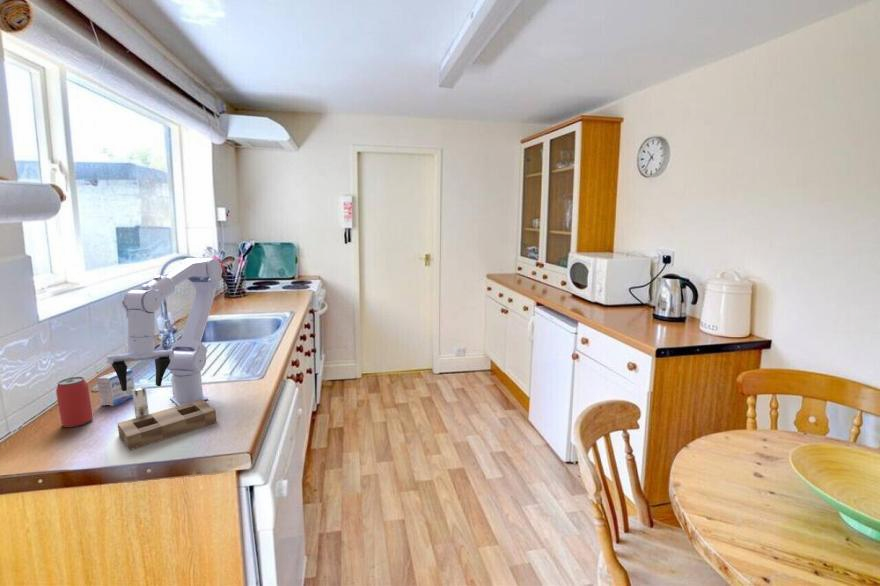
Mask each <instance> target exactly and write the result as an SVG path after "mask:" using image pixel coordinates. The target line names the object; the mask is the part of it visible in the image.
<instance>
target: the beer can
mask: <svg viewBox="0 0 880 586" xmlns="http://www.w3.org/2000/svg"><path fill="white" fill-rule="evenodd" d="M56 383H57V387H56V392H55V393H56V398H57V400H56V401H57V405H58V411H59V412H58V413H59V416H60V417H59V418H60V422H61V425H62V426H63V427H65V428H74V427H73V426H76V427H79V425H80V426H83V425H85V423H86V424H87V422H88V423H89V422H91V421H92V420H93V418H94V417H93V409H92V403H91V402H92V401H91V398H90V396H91V395H90V390H89V385H88V382H87V381H86V379H85V377H84V376H72V377H68V378H63V379H61V380H59V381H58V382H56ZM82 424H83V425H82Z"/></svg>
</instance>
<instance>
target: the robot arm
mask: <svg viewBox="0 0 880 586" xmlns="http://www.w3.org/2000/svg"><path fill="white" fill-rule="evenodd" d="M223 271H224V270H223V268H222V264H221V262H220V260H219V259H218V258H215V257H212V258H206V257H205V258H202V257H201V258H199V257H197V258H196V257H187V258H185V259H184V260H181V261H180V265H179V266H177V267H176V268H175V269H174V270H172V271H171V272H170V273H168V275H166V276H165V275H155V276H153V278H152V279H151V280H150V281H149V282H147V283H146V284H143V285H141V286H140V287H139V288H138V289H133V290H130V291H128V292H127V293H126V294H125V295H124V297H123V300H122V301H121V304H122V308H123V309H124V310H125V317H126V318H127V320H128V321H127V322H128V327H127V328H128V329H127V330H128V331H127V332H128V335H127V336H128V337H127V338H128V339H127V340H128V342H127V345H128V346H127V348H128V352H125V353H117V354H108V355H106V364H108V365H111V367H112V368H113V370H114V372H116V374H117V376H118V378H119V381H120V384H121V390H122V391H127V382H126V374H127V369H128V365H127V364H126V363H127V362H137V361H138V362H139V361H147V360H148V361H149V360H154V363H155V364H154V365H155V386H157V387H161V386H162V381H163V379H164V375H165V373H166V372H167V371H166V370H168V371H170V374H171V380H170V381H171V386H172V387H171V388H172V395H171V396H169V399H170V400H171V401H172V402H173V403H175V405H177V406H180V405H184V404H188V403H191V402H195V401H198V400H203V401H207V400H209V397H208V396H207V395H206V394H204V392H203V383H202V371H203V370H204V369H205V366H206V364H207V352H208V348H207V346H205V344H204V343H202V339H203V336H204V332H205V329H206V327H207V322H208V319H209V316H210V312H211V309H212V305H213V303H214V299H215V296H216V293H217V288H218V287H219V284H220V282H221V277H222V275H223ZM185 281H187V282H188V283H189V284H190V285H191V287H193V288H194V289H195V294H194V297H193V299H192V300H193V301H192V303H191V307H190V310H189V313H188V315H187V320H186V322H185V325H184V328H183V331H182V334H181V335H182V336H181V338H179V339H178V340H176V341H175V342H173V343H172V344H171V345H170V349H161V350H155V349H156V348H155V347H156V346H155V343H156V342H155V340H156V339H155V325H156V324H155V323H156V322H155V316H156V315H155V314H156V313H155V312H156V311H158V310H159V309H160V307H161V304H162V302H163V301H164V300H166V298H169V296H170V295H172V294H174V293H175V291H176V287H177V286H178V285H179V284H181V283H183V282H185Z"/></svg>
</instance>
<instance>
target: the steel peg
mask: <svg viewBox="0 0 880 586" xmlns="http://www.w3.org/2000/svg"><path fill="white" fill-rule="evenodd" d="M132 394H133V397H132V401H133V407H134V408H133V409H134V415H135V416H134V417H135V418H138V417H141V416H145V415H148V414H150V413H149V404H148V398H147V397H148V395H147V388H146V386H138V387H134V389H132Z"/></svg>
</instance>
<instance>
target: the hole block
mask: <svg viewBox="0 0 880 586" xmlns="http://www.w3.org/2000/svg"><path fill="white" fill-rule="evenodd" d="M215 422H216V423H217V414H216V409H215V408H213V407H212V406H211V405H209V404H208V403H207V402H206V400H204V401H203V400H198V401H195V402H191V403H188V404H184V405H180V406H178V405H177V406H175V407H174V406H173V407H171V408H167V409H164V410H160V411H155V412H152V413H149V414H148V415H145V416H141V417H138V418H136V417H135V418H131V419H128V420H123V421H121V422H117V423H116V424H117V431H118V437H119V438H120V439H121V441H122V442H123V444H124V445H125V447H126V448H127V449H128V451H131V450H134V449H138V448H140V447H141V448H142V447H144V446H146V445H150V444H153V443H157V442H159V441H163V440H165V439H168V438H172V437H175V436H177V435H181V434H184V433H188V432H191V431H194V430H196V429H199V428H203V427H206V426H209V425H212V423H213V424H215Z"/></svg>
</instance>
